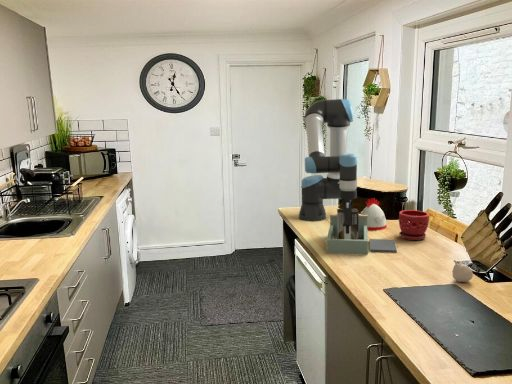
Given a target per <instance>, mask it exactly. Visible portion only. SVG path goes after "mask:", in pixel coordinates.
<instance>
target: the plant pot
mask: <svg viewBox="0 0 512 384" xmlns="http://www.w3.org/2000/svg"><path fill="white" fill-rule="evenodd" d="M398 213H399V214H398V224H399V225H398V226H399V228H400V231H399V235H400V237H401V238H403V239H405V240H407V241H409V240H411V241H420V240H423V239H425V238H426V236H427V234H426V231H427V230H428V226H429V222H430V214H429V212H426V211H422V210H415V209H409V210H406V209H405V210H401V211H399V212H398Z"/></svg>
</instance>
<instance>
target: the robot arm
mask: <svg viewBox="0 0 512 384" xmlns="http://www.w3.org/2000/svg"><path fill="white" fill-rule="evenodd" d="M303 119H304V120H303V122H304V125H305V127H306V136H307V137H306V139H307V140H306V141H307V153H308V154H307V155H308V156H306V157H305V158H304V172H305V173H306V174H313V175H309V176H305V177H303V178H302V179H301V186H300V187H301V206H300V208H299V213H298V218H299V220H302V221H309V222H316V221H317V222H319V221H323V220H326V219H327V212H326V209H325V205H324V200H344V201H343V204H342V205H343V206H342V207H343V209H344V212H345V223H344V224H343V226H344V239H351V224H350V216H351V212H352V209H353V203H354V202H353V201H352V200H355V199H357V197H358V193H357V192H358V190H357V189H358V178H357V177H358V176H357V174H358V172H357V171H358V168H357V167H358V158H357V154H355V153H347V133H348V131H347V130H348V128H349V127H350V126H351V123H352V122H353V121H354V111H353V105H352V103H351V100H350V99H348V98H347V99H343V98H336V99H320V100H317V101H315V102H313V103H312V104H311V105H309V106H308V108H307V109H306V111H305V114H304V117H303ZM353 123H354V122H353ZM323 124H326V125H327V128H328V129H329V156H325V155H326V154H325V145H324V135H323ZM314 174H315V175H314ZM321 174H326V177H324V176H323V175H321Z"/></svg>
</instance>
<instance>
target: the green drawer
mask: <svg viewBox="0 0 512 384" xmlns="http://www.w3.org/2000/svg"><path fill="white" fill-rule="evenodd" d="M329 217H330V218H329V227H328V234H327V238H326V254H341V255H363V256H364V255H365V256H367V255H368V254H369V249H368V248H369V240H368V239H369V238H368V237H369V234H368V230H367V218H368V215H361V214H359V240H352V239H338V235H337V213H335V214H334V213H330V214H329Z"/></svg>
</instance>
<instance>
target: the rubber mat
mask: <svg viewBox="0 0 512 384" xmlns="http://www.w3.org/2000/svg"><path fill="white" fill-rule="evenodd" d="M368 239H369V240H368V245H369V252H370V253H393V254H394V253H397V252H398V250H397V246H396V242H395V239H387V238H385V239H384V238H382V239H381V238H380V239H379V238H378V239H377V238H368Z"/></svg>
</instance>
